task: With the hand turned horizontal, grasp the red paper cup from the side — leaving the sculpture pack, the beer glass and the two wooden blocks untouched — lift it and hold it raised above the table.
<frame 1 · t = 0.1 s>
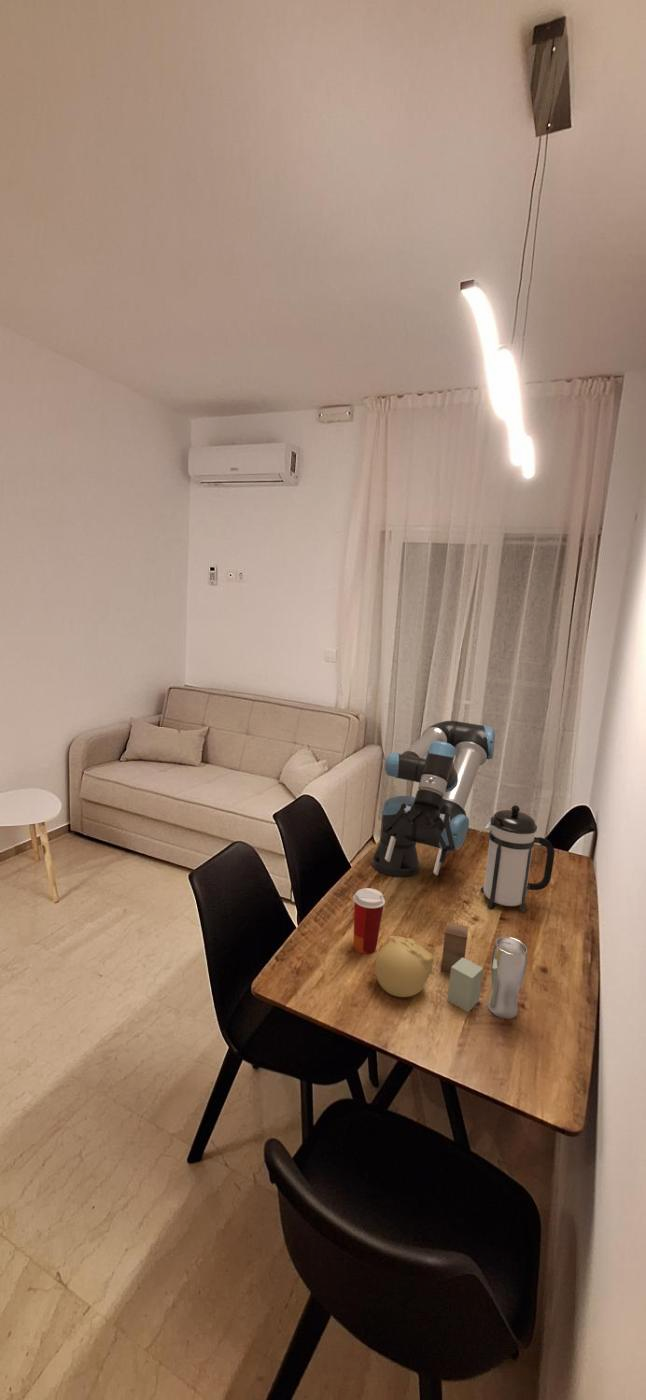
hand: (410, 867, 152), 15 cm above the table, tool tilted 35°, fingers open, 13 cm apart
beer glass: (502, 1009, 121), on the table
sculpture: (400, 987, 126), on the table
coffee press: (506, 902, 168), on the table
walnut block: (452, 968, 134), on the table
sage block: (463, 1000, 123), on the table
paper cup: (364, 947, 140), on the table
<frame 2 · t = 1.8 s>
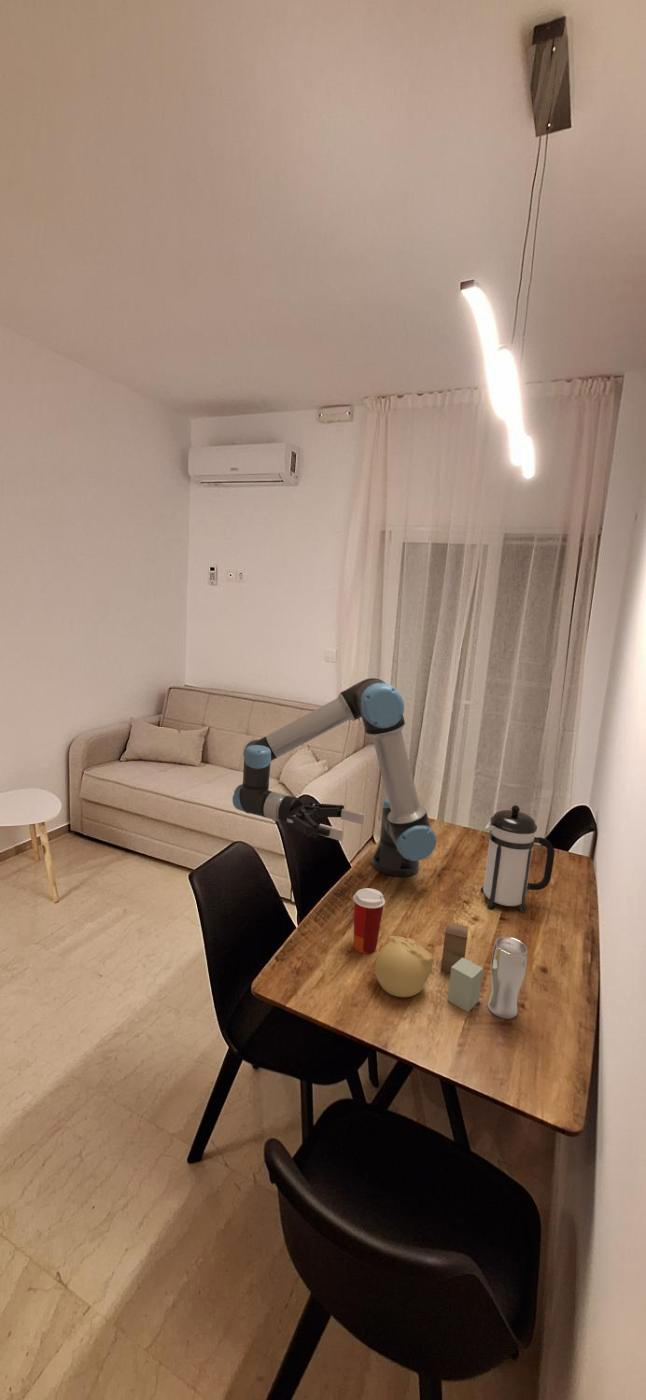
hand: (353, 827, 148), 26 cm above the table, tool horizontal, fingers open, 13 cm apart
nothing on the table moved.
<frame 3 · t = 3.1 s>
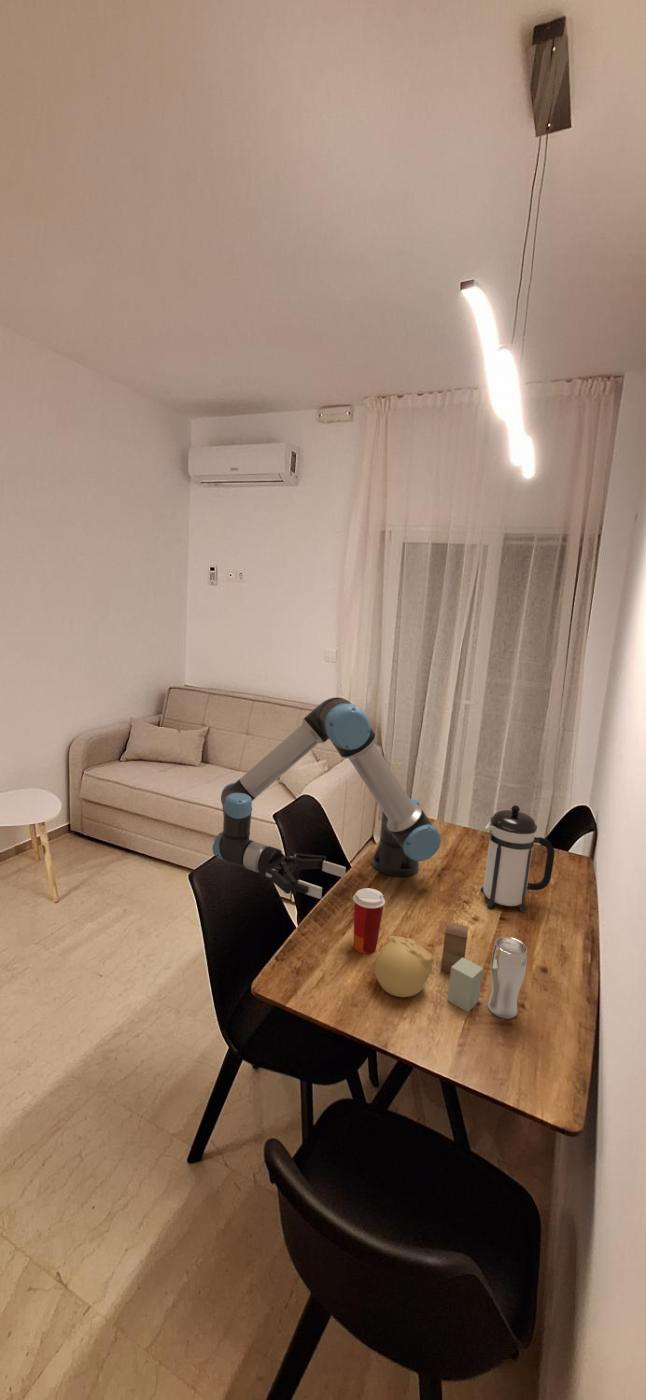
hand: (333, 882, 144), 13 cm above the table, tool horizontal, fingers open, 13 cm apart
nothing on the table moved.
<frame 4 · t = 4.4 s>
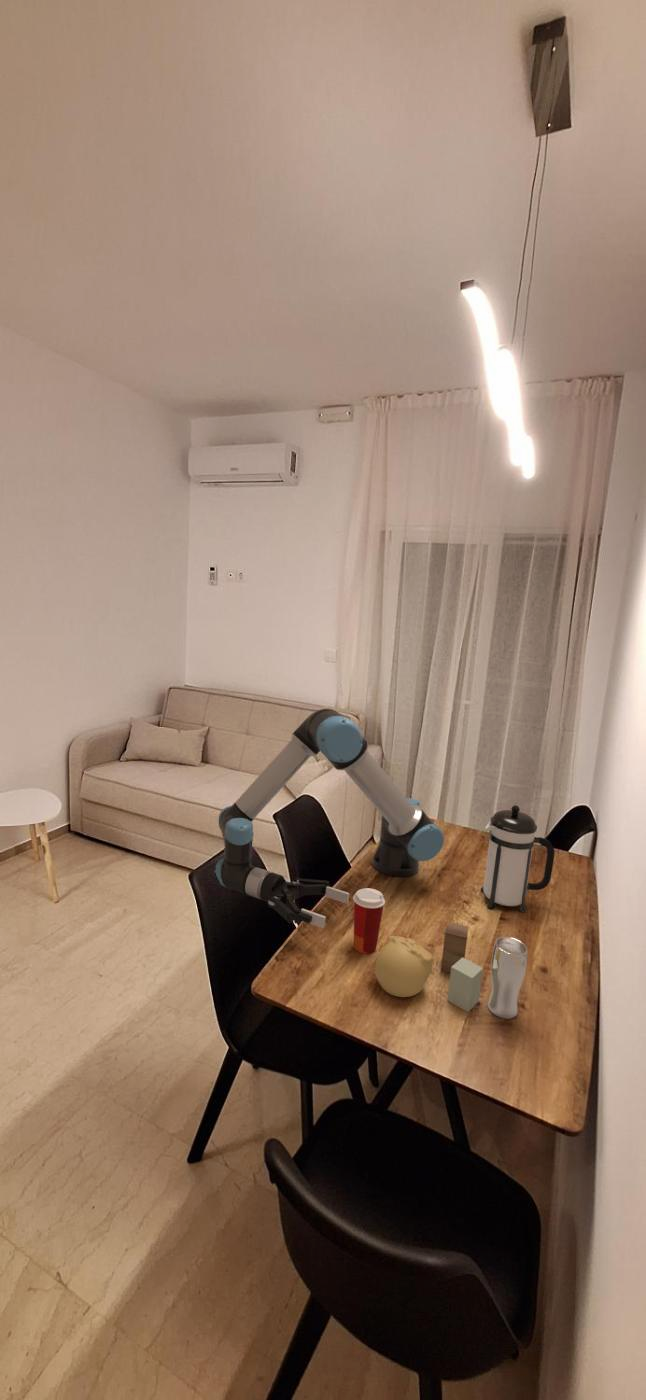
hand: (337, 910, 142), 7 cm above the table, tool horizontal, fingers open, 13 cm apart
nothing on the table moved.
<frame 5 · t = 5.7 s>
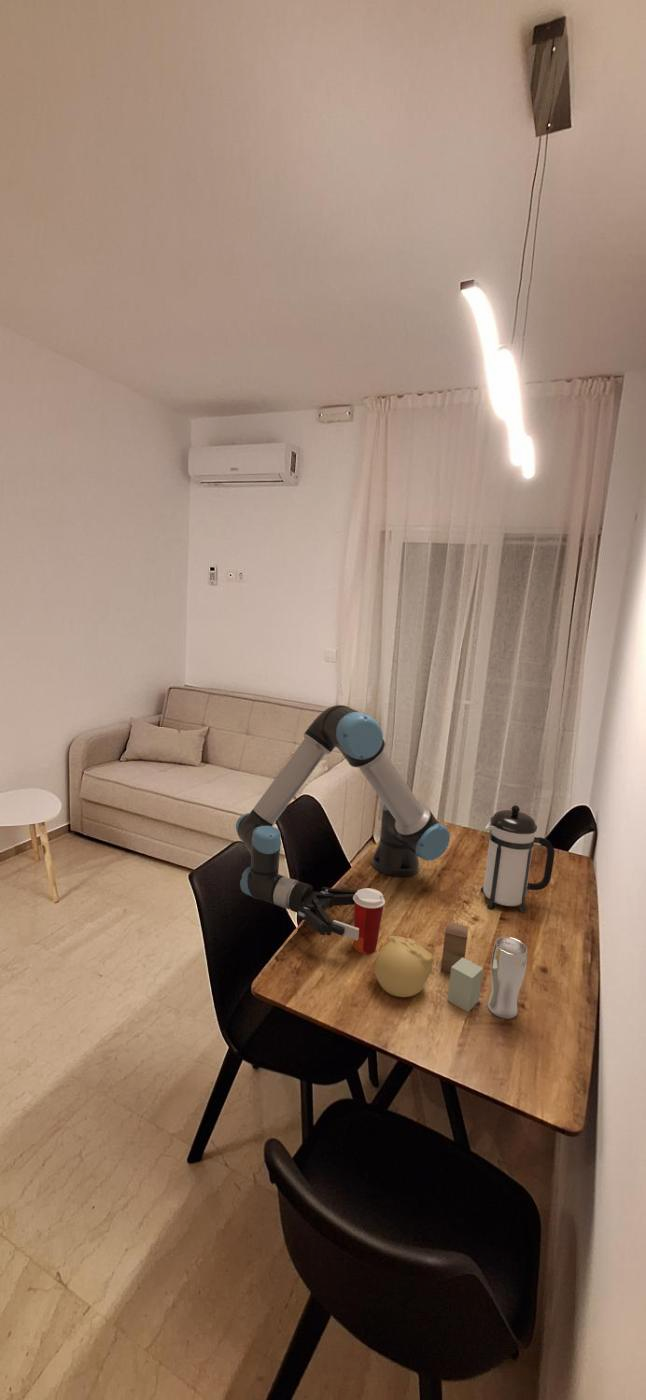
hand: (369, 921, 138), 7 cm above the table, tool horizontal, fingers open, 13 cm apart
nothing on the table moved.
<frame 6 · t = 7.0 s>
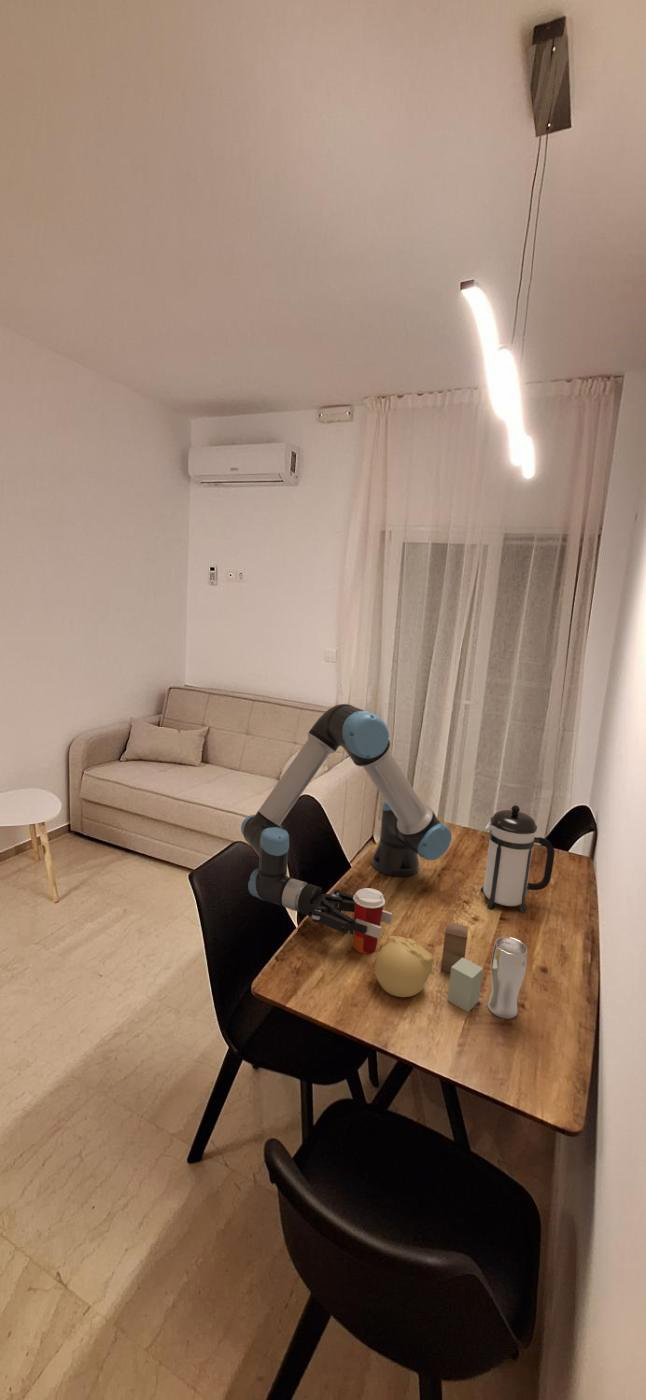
hand: (386, 925, 136), 8 cm above the table, tool horizontal, fingers closed on paper cup, 7 cm apart
paper cup: (364, 947, 140), on the table, touching gripper
everything else where it was.
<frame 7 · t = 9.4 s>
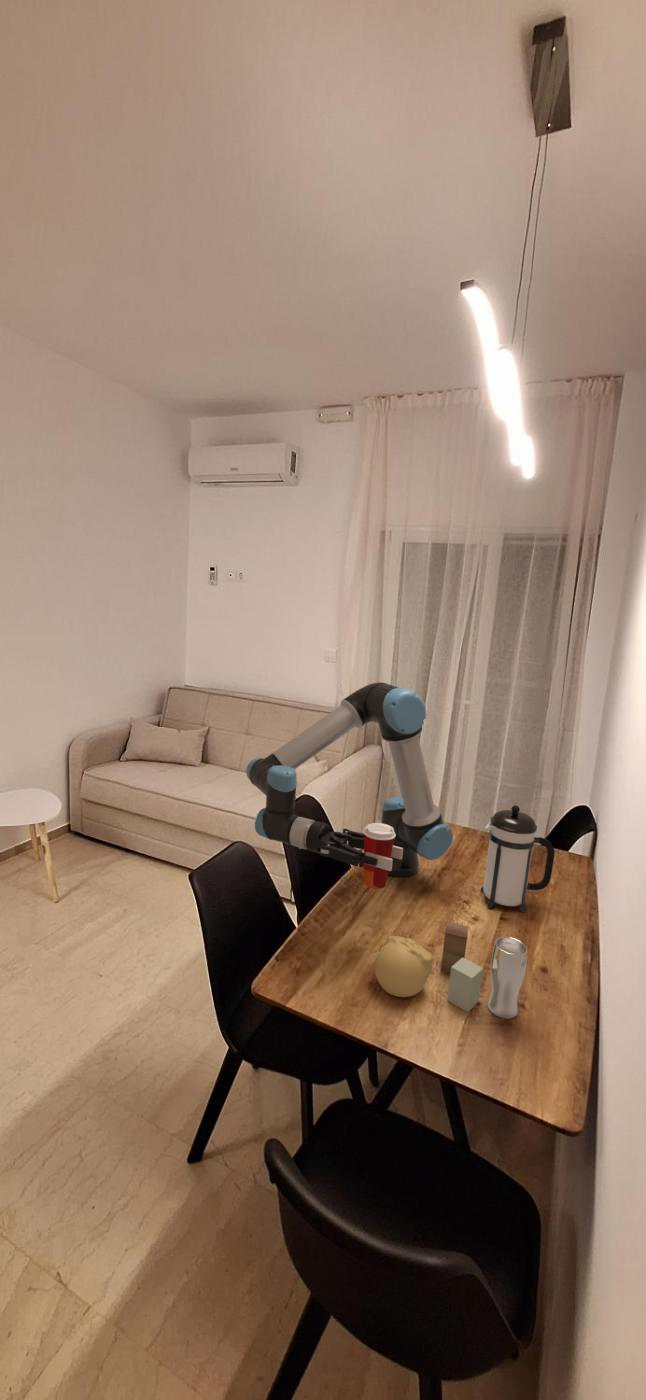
hand: (396, 859, 133), 25 cm above the table, tool horizontal, fingers closed on paper cup, 7 cm apart
paper cup: (374, 883, 137), point 17 cm above the table, touching gripper
everything else where it was.
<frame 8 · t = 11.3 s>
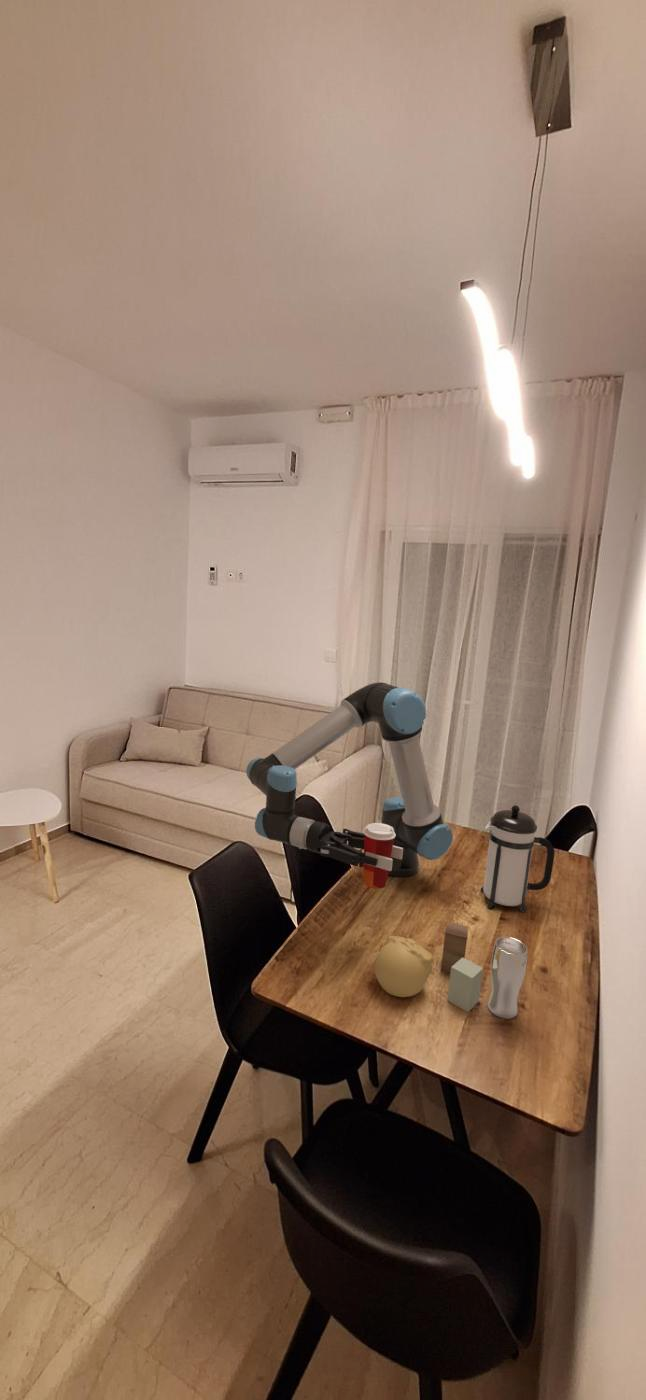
hand: (396, 859, 133), 25 cm above the table, tool horizontal, fingers closed on paper cup, 7 cm apart
paper cup: (374, 883, 137), point 17 cm above the table, touching gripper
everything else where it was.
at the end: the gripper is holding paper cup; paper cup point 17.2 cm above the table; sculpture moved 0.3 cm from its start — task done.
